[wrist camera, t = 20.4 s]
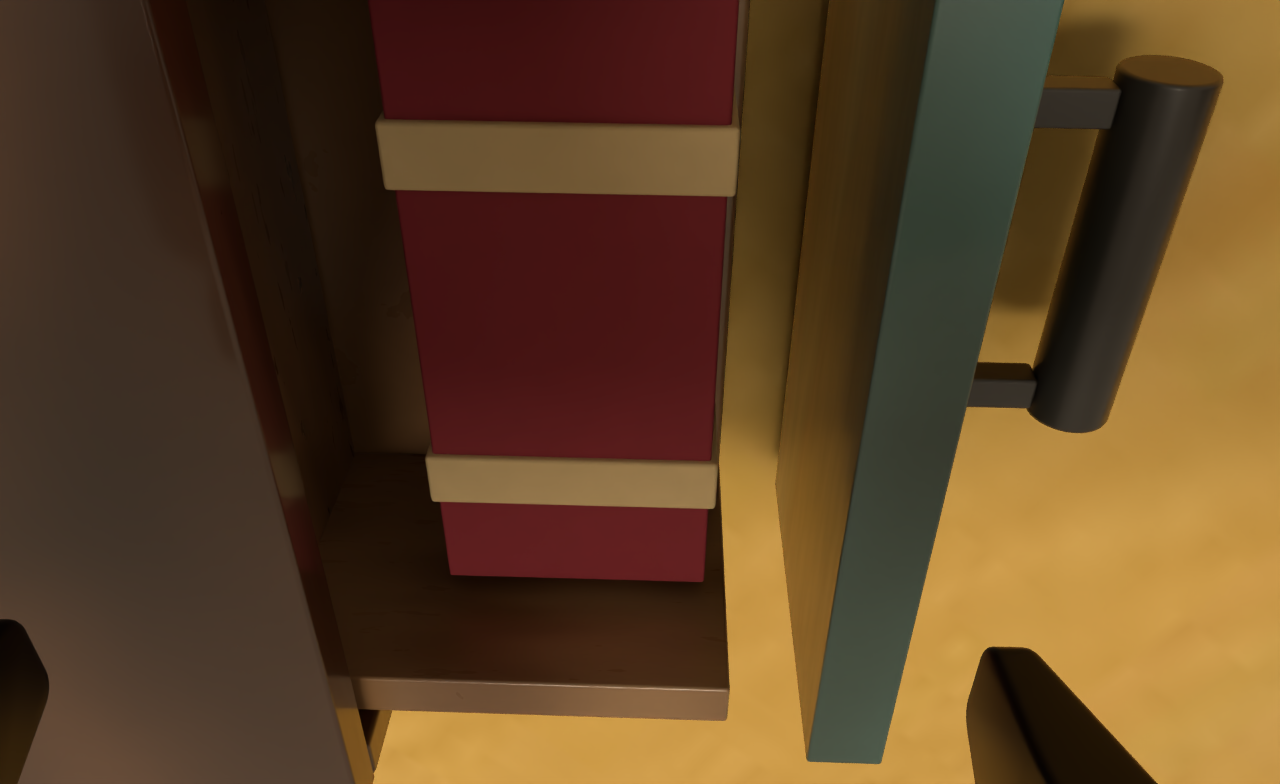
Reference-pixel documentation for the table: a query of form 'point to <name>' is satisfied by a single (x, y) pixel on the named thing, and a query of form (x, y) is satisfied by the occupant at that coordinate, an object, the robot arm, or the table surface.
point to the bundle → (564, 271)
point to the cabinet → (150, 430)
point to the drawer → (818, 364)
